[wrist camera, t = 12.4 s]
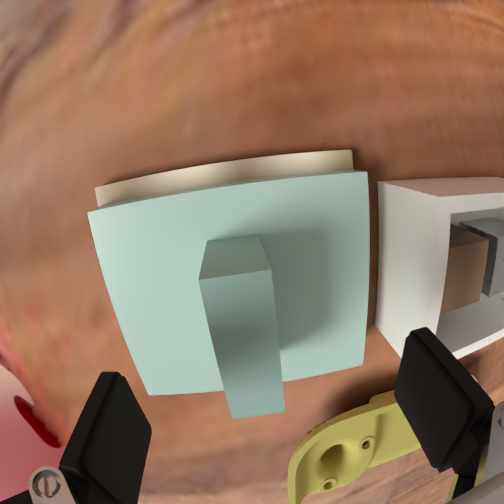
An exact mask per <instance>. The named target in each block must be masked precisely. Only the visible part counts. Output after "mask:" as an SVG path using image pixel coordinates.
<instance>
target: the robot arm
mask: <svg viewBox="0 0 504 504" xmlns="http://www.w3.org/2000/svg"><path fill="white" fill-rule="evenodd" d="M394 396H395V399H396V401H397V403H398V405H399V407H400V408H401V410H402V412H403V414H404V416H405V417H406V419H407V421H408V423H409V425H410V426H411V428H412V430H413V432H414V434H415V436H416V437H417V439H418V441H419V443H420V445H421V447H422V449H423V451H424V452H425V454H426V456H427V458H428V460H429V462H430V464H431V466H432V467H433V468H437V469H438V471H439V473H441V472H443V471H445V470H447V469H449V468H451V467H452V468H453V470H454V472H455V475H454V479H453V482H452V485H451V489H450V492H449V495H448V498H447V501H446V503H445V504H504V401H503V402H501V403H499V404H498V405H497V406H496V407H495V406H494V405H493V401H492V400H491V398H490V397H489V396H488V395H487V394H486V392H485V391H484V390H483V389H482V388H481V386H480V385H479V384H478V383H477V382H476V380H475V379H474V378H473V377H472V376H471V375H470V373H469V372H468V371H467V370H466V369H465V368H464V366H463V365H462V364H461V363H460V362H459V361H458V360H457V359H456V357H455V356H454V355H453V354H452V353H451V352H450V351H449V350H448V349H447V347H446V346H445V345H444V344H443V343H442V342H441V341H440V340H439V339H438V338H437V337H436V336H435V334H434V333H433V332H432V331H431V330H430V329H429V328H428V327H422V328H419V329H416V330H412V331H411V332H410V333H409V336H407V337H406V339H405V344H404V349H403V354H402V359H401V364H400V369H399V373H398V377H397V382H396V386H395V390H394ZM151 434H152V430H151V426H150V424H149V422H148V420H147V418H146V417H145V415H144V413H143V411H142V409H141V407H140V405H139V404H138V402H137V400H136V398H135V396H134V394H133V392H132V390H131V388H130V386H129V384H128V382H127V380H126V378H125V377H124V376H121V374H120V373H119V372H102V373H101V374H100V376H99V378H98V380H97V382H96V384H95V386H94V388H93V390H92V392H91V394H90V396H89V398H88V400H87V402H86V404H85V406H84V409H83V411H82V413H81V415H80V417H79V419H78V422H77V424H76V426H75V428H74V430H73V433H72V435H71V437H70V440H69V442H68V444H67V447H66V449H65V451H64V454H63V456H62V458H61V461H60V466H59V469H57V468H55V467H52V466H44V467H40V468H39V469H37V470H35V472H34V473H33V474H32V475H31V477H30V479H29V484H28V486H29V490H26V491H24V492H22V493H20V494H17V495H15V496H13V497H11V498H8V499H6V500H3V501H1V502H0V504H137V502H138V497H139V492H140V486H141V481H142V476H143V472H144V467H145V462H146V457H147V453H148V448H149V444H150V439H151Z"/></svg>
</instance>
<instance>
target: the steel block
mask: <svg viewBox="0 0 504 504" xmlns="http://www.w3.org/2000/svg"><path fill="white" fill-rule="evenodd" d="M459 227H460V228H463V229H465V230H468V231H470V232H472V233H475V234H477V235H479V236H482V237H484V238H486V239H488V240H489V247H488V254H487V262H486V268H485V274H484V280H483V286H482V291H481V293H483V294H484V295H486V296H487V297H491V296H494V295H496V294H498V293H501V292H503V291H504V221H501V220H499V219H496V218H493V217H489V218H482V219H475V220H469V221H462V222H459Z"/></svg>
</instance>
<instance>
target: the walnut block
mask: <svg viewBox="0 0 504 504" xmlns="http://www.w3.org/2000/svg"><path fill="white" fill-rule="evenodd" d="M488 247H489V240H488V239H486V238H484V237H482V236H479V235H477V234H475V233H472V232H470V231H468V230H465V229H463V228H460V227H458V226H456V225H453V224H451V223H450V238H449V250H448V260H447V269H446V277H445V285H444V291H443V298H442V304H441V309H440V315H441V314H444V313H447V312H450V311H453V310H456V309H459V308H462V307H465V306H467V305H470V304H473V303H475V302H478V301H479V300H480V296H481V291H482V286H483V280H484V274H485V268H486V262H487V254H488Z"/></svg>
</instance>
